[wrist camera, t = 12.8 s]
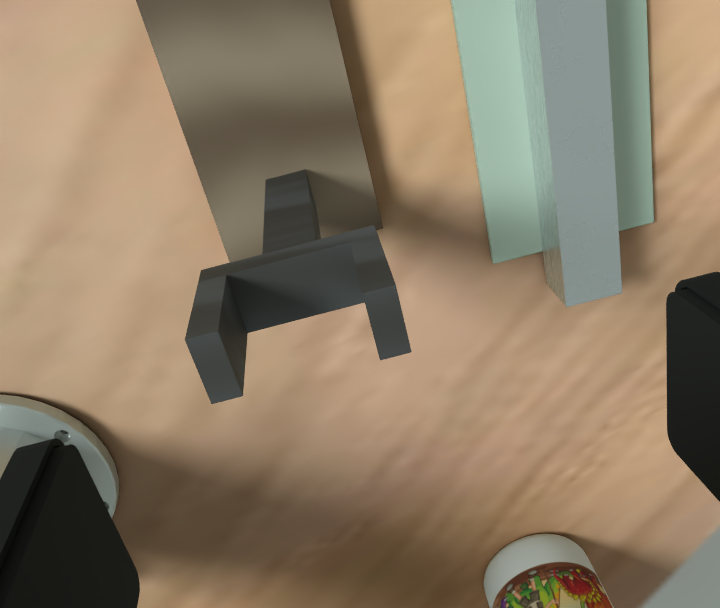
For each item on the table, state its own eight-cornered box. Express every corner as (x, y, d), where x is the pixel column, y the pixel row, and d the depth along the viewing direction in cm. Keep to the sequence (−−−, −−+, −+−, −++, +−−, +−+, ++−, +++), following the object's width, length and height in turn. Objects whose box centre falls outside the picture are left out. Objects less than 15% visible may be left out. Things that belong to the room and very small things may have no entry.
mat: (650, 219, 38) (653, 222, 38) (492, 261, 38) (494, 263, 38) (634, -219, 29) (638, -221, 28) (425, -163, 29) (426, -164, 29)
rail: (598, 269, 39) (622, 293, 36) (546, 282, 39) (566, 307, 36) (559, -262, 28) (589, -284, 25) (486, -242, 28) (508, -262, 25)
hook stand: (379, 220, 36) (446, 392, 22) (232, 258, 36) (206, 454, 22) (238, -380, 25) (191, -805, 11) (27, -323, 25) (-288, -670, 11)
